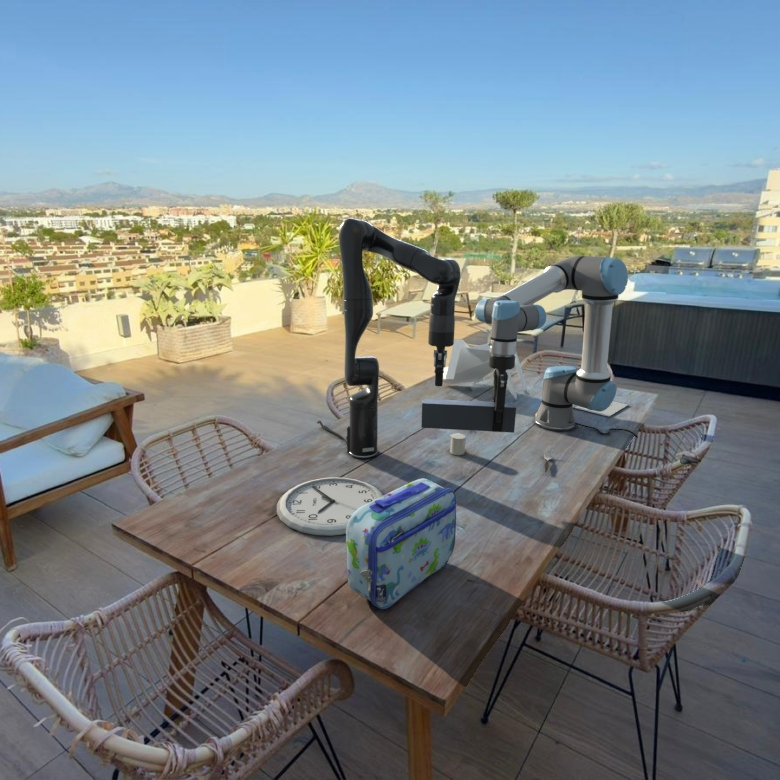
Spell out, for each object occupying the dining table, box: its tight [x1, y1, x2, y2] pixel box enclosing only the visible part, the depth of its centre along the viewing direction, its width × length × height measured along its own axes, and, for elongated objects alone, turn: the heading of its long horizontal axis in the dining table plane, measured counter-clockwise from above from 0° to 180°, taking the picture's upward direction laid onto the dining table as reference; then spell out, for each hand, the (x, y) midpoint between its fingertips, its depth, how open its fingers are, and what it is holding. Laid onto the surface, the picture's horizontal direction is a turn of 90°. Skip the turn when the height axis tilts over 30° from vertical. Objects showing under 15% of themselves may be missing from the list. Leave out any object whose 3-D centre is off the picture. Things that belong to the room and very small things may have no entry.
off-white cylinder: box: [449, 432, 467, 456], centre depth 177 cm, size 5×5×6 cm
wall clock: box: [276, 476, 385, 537], centre depth 142 cm, size 30×2×30 cm
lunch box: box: [345, 477, 457, 610], centre depth 110 cm, size 26×11×21 cm, turn 134°
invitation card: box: [573, 400, 629, 418], centre depth 226 cm, size 21×1×15 cm
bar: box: [421, 398, 517, 434], centre depth 160 cm, size 28×4×8 cm, turn 83°
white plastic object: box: [443, 338, 531, 400], centre depth 245 cm, size 37×45×31 cm
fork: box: [543, 448, 554, 473], centre depth 170 cm, size 3×16×2 cm, turn 160°
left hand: (439, 381), depth 158 cm, fingers open, 8 cm apart
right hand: (496, 428), depth 160 cm, fingers closed on bar, 4 cm apart
